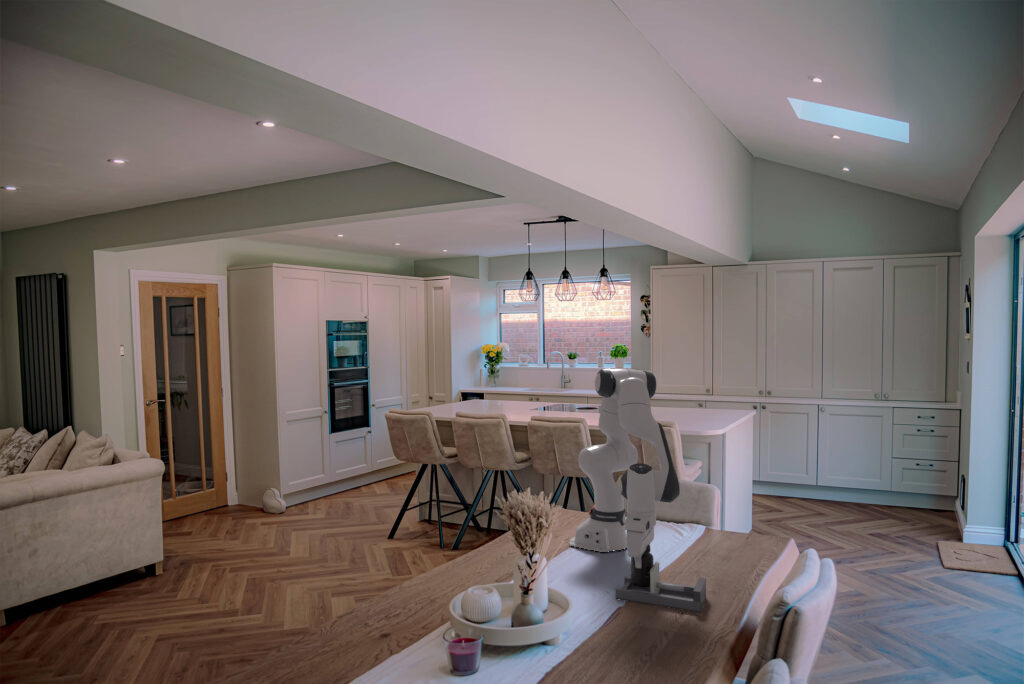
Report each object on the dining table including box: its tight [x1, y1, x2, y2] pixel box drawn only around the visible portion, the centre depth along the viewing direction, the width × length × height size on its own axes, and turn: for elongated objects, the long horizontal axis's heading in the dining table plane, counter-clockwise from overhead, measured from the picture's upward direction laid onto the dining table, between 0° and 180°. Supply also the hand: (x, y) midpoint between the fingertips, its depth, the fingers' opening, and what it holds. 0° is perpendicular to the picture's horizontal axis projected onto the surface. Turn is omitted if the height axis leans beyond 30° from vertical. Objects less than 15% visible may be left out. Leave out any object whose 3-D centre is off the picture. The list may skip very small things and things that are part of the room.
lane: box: [615, 576, 707, 614], centre depth 194 cm, size 25×11×6 cm, turn 65°
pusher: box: [650, 561, 684, 594], centre depth 193 cm, size 9×8×9 cm
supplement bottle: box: [630, 544, 655, 587], centre depth 196 cm, size 7×7×12 cm
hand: (641, 563), depth 196 cm, fingers closed on supplement bottle, 7 cm apart
